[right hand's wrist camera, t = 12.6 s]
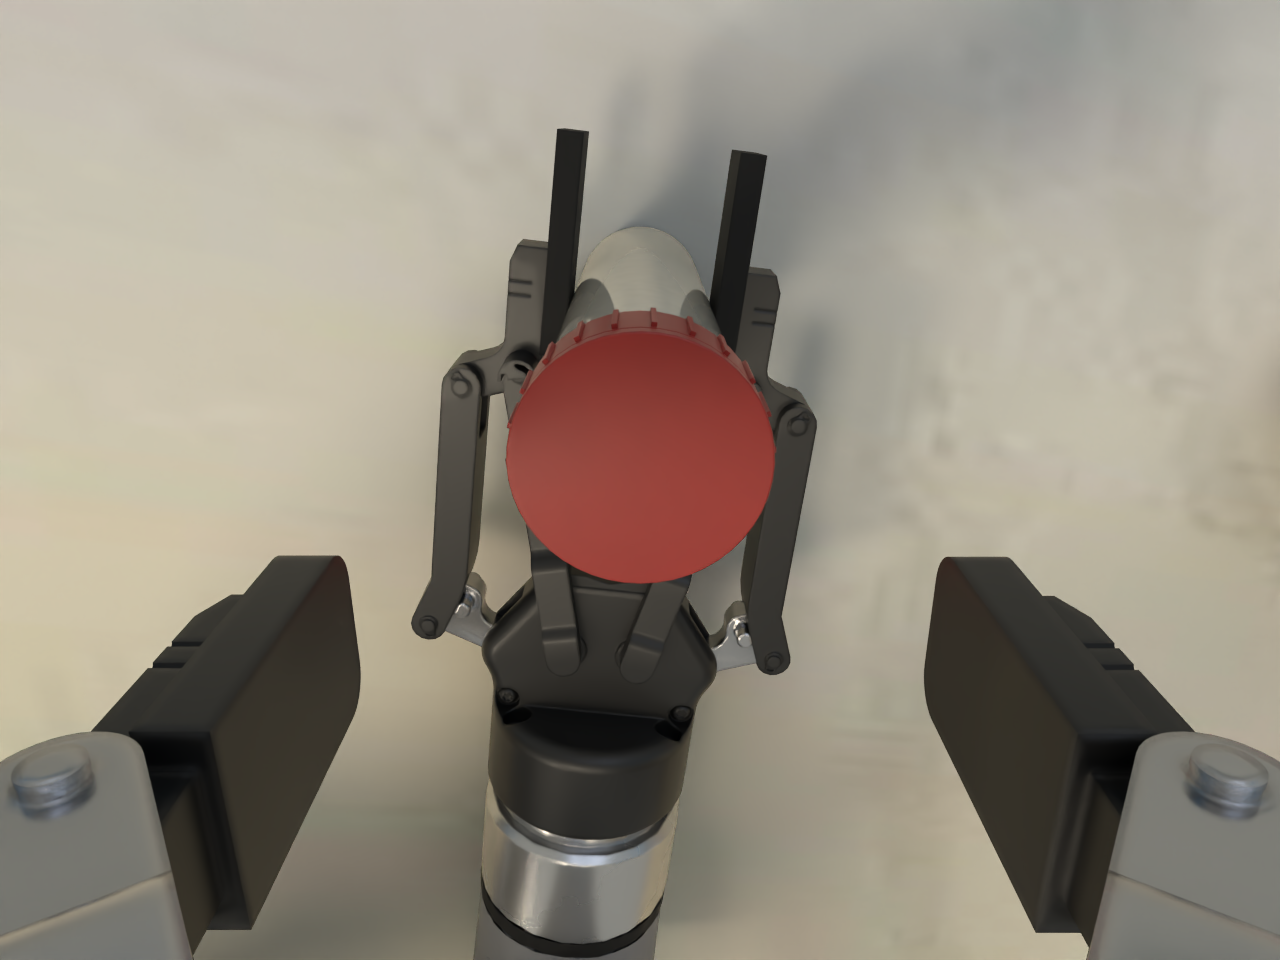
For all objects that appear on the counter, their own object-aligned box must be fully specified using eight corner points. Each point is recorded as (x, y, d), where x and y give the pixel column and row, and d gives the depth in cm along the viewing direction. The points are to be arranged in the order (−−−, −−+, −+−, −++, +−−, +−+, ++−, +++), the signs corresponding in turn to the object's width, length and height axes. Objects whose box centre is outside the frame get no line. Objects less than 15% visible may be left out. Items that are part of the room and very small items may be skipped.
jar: (660, 364, 36) (681, 600, 18) (560, 307, 35) (480, 496, 17) (720, 264, 35) (805, 414, 17) (618, 203, 34) (594, 293, 16)
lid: (683, 583, 20) (688, 629, 18) (472, 473, 19) (454, 510, 17) (814, 388, 18) (833, 417, 16) (590, 257, 17) (585, 272, 15)
